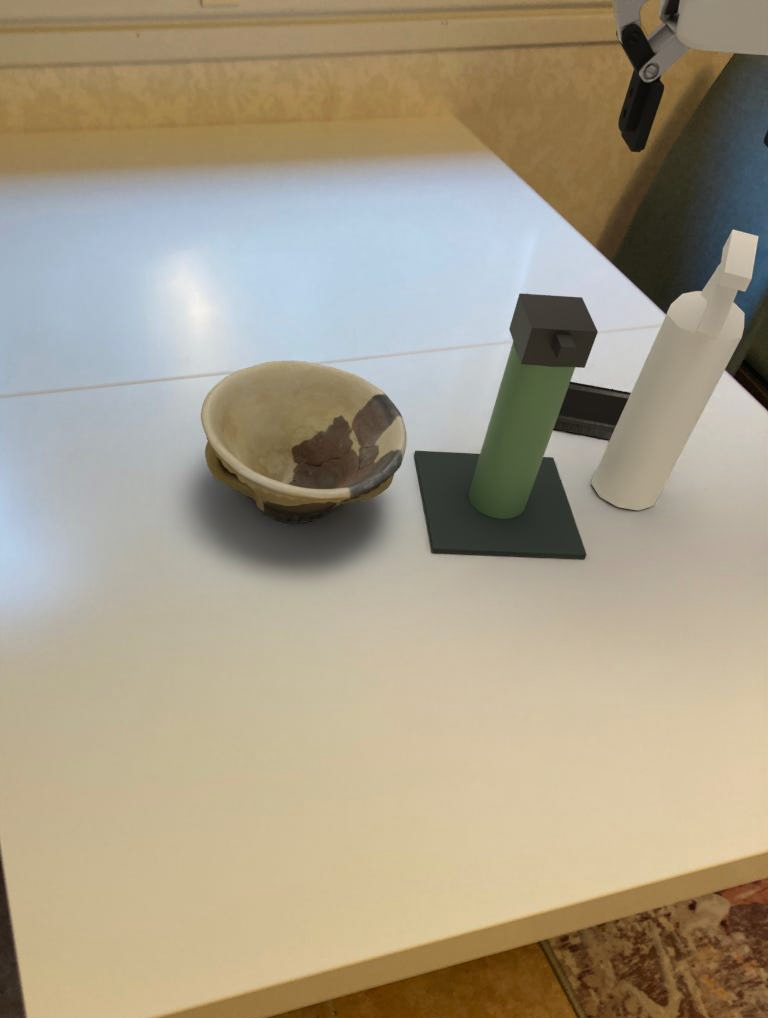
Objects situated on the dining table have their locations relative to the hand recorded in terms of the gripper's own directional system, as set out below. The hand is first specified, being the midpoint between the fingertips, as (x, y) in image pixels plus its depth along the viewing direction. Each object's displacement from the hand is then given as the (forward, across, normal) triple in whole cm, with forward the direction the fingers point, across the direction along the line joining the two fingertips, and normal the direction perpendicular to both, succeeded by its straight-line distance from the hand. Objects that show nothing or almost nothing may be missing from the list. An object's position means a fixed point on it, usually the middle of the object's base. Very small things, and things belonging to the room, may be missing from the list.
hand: (703, 148), depth 60 cm
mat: (+34, +5, -4) cm, 34 cm away
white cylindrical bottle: (+34, -9, -8) cm, 36 cm away
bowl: (+33, +24, -2) cm, 41 cm away
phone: (+34, -8, -19) cm, 40 cm away
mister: (+33, +5, -4) cm, 34 cm away
